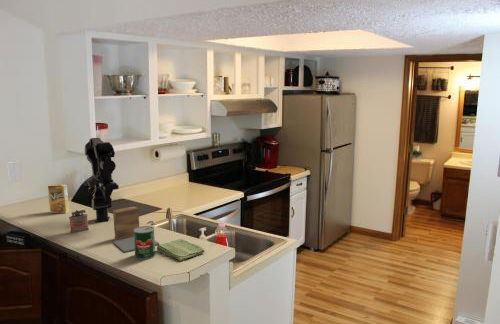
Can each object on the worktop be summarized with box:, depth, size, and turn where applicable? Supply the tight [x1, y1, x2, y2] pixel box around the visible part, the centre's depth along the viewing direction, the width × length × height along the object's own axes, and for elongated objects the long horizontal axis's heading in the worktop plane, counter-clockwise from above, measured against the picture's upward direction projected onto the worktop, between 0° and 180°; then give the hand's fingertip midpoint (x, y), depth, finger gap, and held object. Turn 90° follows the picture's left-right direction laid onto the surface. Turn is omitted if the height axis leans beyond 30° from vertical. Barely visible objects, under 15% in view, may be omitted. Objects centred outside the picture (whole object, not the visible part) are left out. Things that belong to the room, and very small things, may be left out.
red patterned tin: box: [68, 209, 89, 234], centre depth 201 cm, size 8×3×10 cm, turn 123°
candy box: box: [47, 183, 70, 214], centre depth 233 cm, size 9×4×15 cm, turn 87°
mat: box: [112, 237, 160, 254], centre depth 184 cm, size 15×15×1 cm
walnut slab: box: [112, 206, 140, 241], centre depth 191 cm, size 4×10×13 cm, turn 126°
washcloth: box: [156, 238, 206, 262], centre depth 174 cm, size 13×18×3 cm
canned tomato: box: [134, 225, 156, 261], centre depth 170 cm, size 8×8×11 cm
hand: (107, 201), depth 204 cm, fingers closed
